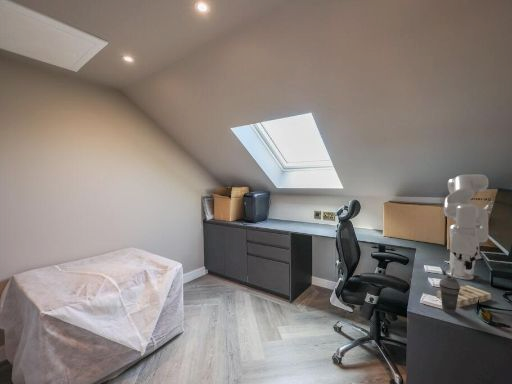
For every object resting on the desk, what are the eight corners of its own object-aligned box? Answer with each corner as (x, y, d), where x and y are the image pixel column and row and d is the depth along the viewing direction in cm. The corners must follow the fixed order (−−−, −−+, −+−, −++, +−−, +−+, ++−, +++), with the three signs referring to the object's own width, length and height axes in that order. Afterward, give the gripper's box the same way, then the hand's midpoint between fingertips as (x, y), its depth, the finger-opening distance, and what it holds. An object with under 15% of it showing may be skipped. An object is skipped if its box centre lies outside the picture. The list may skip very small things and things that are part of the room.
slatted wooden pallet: (467, 290, 126) (467, 285, 126) (490, 299, 117) (490, 293, 116) (436, 297, 120) (436, 291, 119) (458, 307, 110) (459, 300, 110)
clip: (467, 271, 120) (468, 257, 120) (474, 273, 117) (475, 259, 117) (453, 273, 117) (453, 259, 117) (460, 276, 114) (460, 261, 114)
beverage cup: (443, 305, 112) (444, 263, 111) (462, 313, 105) (464, 268, 104) (435, 309, 108) (436, 266, 107) (454, 317, 102) (456, 271, 101)
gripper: (442, 228, 123) (441, 263, 124) (480, 234, 107) (478, 275, 108) (452, 227, 125) (451, 262, 126) (491, 233, 110) (489, 273, 110)
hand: (464, 267), depth 117 cm, fingers closed on clip, 3 cm apart
